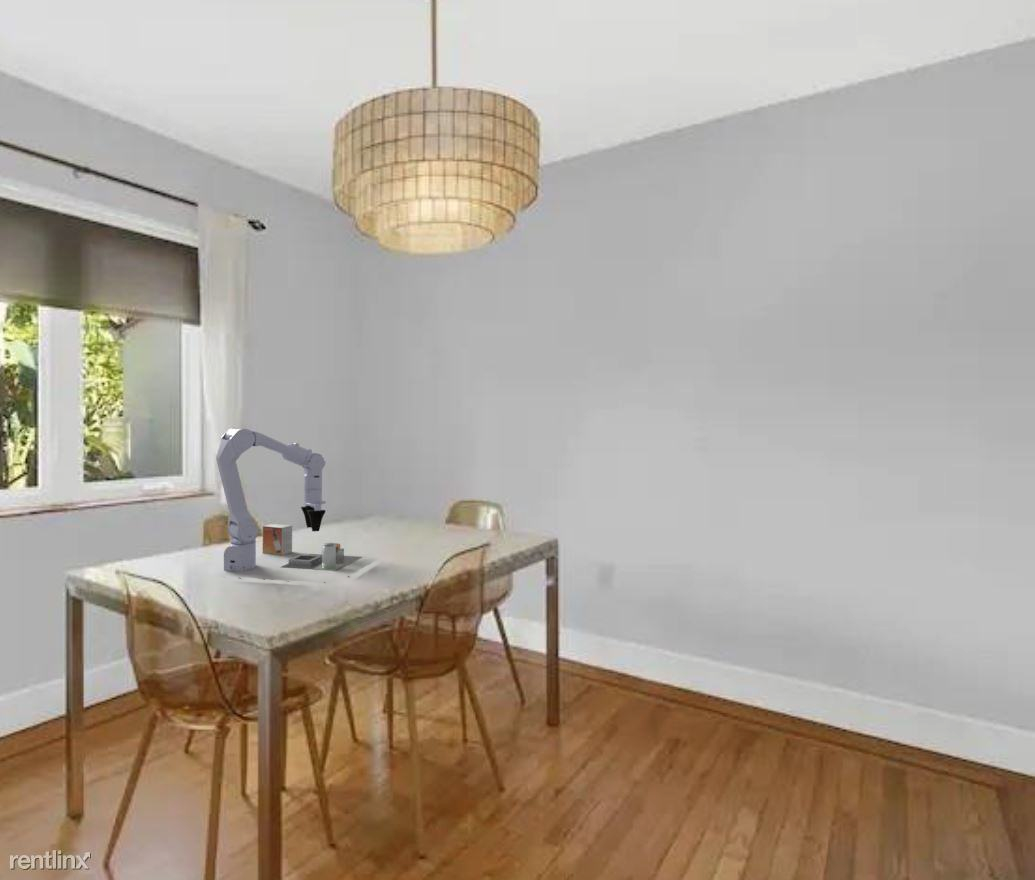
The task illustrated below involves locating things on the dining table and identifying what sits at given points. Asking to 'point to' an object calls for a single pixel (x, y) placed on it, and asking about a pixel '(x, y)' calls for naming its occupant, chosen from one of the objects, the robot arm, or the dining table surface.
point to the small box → (277, 539)
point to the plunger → (337, 546)
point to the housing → (320, 561)
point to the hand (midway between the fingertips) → (313, 529)
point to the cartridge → (329, 555)
